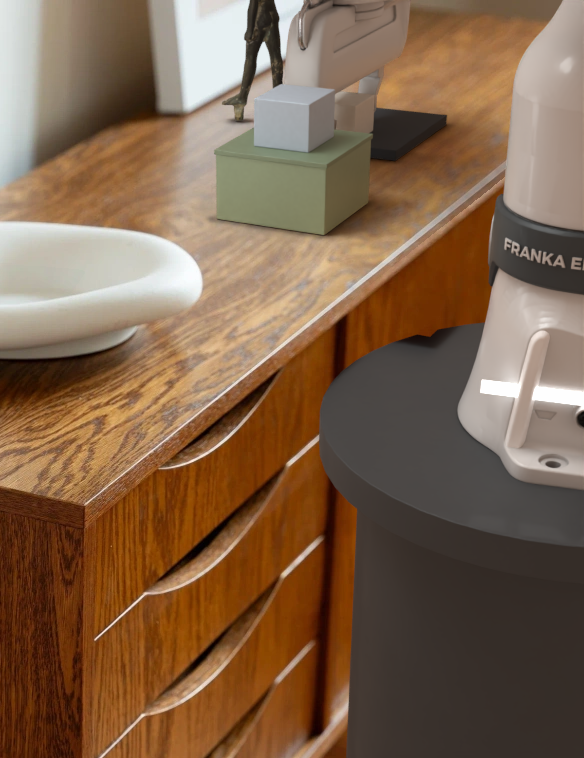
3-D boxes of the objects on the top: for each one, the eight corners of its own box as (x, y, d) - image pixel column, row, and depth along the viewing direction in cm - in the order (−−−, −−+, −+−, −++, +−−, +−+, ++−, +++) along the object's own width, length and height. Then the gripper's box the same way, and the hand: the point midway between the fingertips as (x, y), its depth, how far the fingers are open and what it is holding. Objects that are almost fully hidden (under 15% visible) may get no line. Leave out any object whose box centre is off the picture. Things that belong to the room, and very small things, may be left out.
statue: (231, 111, 156) (231, -92, 146) (290, 115, 154) (293, -92, 144) (216, 124, 152) (215, -85, 142) (276, 128, 150) (278, -84, 140)
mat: (446, 124, 148) (447, 114, 147) (395, 161, 138) (396, 150, 138) (343, 113, 153) (343, 103, 153) (287, 147, 144) (287, 137, 143)
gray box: (334, 137, 125) (335, 89, 123) (308, 153, 122) (309, 104, 120) (280, 130, 128) (280, 83, 126) (253, 146, 124) (253, 98, 122)
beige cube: (373, 130, 144) (375, 94, 142) (354, 143, 141) (355, 106, 139) (330, 125, 146) (331, 90, 144) (310, 138, 143) (311, 101, 141)
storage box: (370, 202, 129) (373, 133, 126) (325, 236, 122) (326, 164, 119) (263, 187, 134) (264, 121, 131) (214, 219, 127) (213, 149, 124)
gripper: (334, 1, 127) (329, 160, 134) (424, -42, 142) (416, 103, 149) (267, -4, 130) (266, 152, 137) (362, -45, 145) (357, 97, 152)
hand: (344, 126), depth 143 cm, fingers open, 8 cm apart
